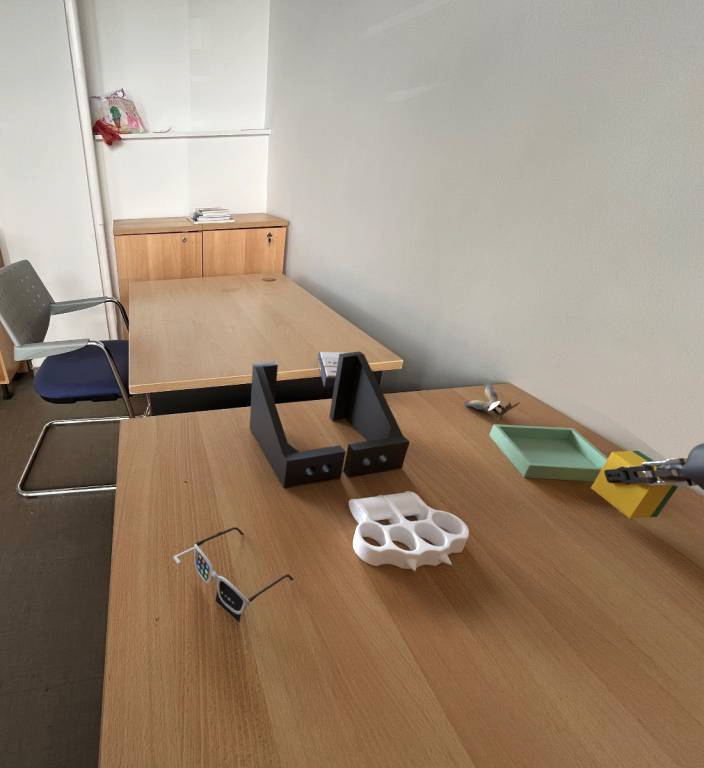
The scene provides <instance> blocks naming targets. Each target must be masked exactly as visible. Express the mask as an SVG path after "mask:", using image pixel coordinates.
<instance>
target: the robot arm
mask: <svg viewBox="0 0 704 768" xmlns="http://www.w3.org/2000/svg"><path fill="white" fill-rule="evenodd" d="M657 465H661V466H658V467H657V468H656V470H654V467H655V466H657ZM604 473H605V476H606V479H607V482H609V483H622V484H630V483H633V484H637V483H648V484H649V485H651V486H656V485H675V486H678V487H695V486H698V487H699V488H700V489H701V490H703V491H704V442H702V443H700V444H698V445H695V446H694V447H693V448H692V449H691V450H690V452H689V453H688V456H687V457H685V458H684V457H678V458H668V459H665V460H663V461H655V462H648V463H642V465H641V466H635V467H631V466H627V467H620V468H617V469H610V470H605V471H604ZM657 477H659V478H660V479H661V480H664V481H666V482H662V481H659V480H658V479H657Z"/></svg>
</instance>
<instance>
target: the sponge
mask: <svg viewBox="0 0 704 768" xmlns="http://www.w3.org/2000/svg"><path fill="white" fill-rule="evenodd" d="M607 458H608V459H607V461H606V463H605V465H604V466H603V468H602V470H601V471H600V473H599V475H598V477H597V478H596V480H595V482H592V485H591V487H590V489H592V491H594V492H595V493H596V494H598V495H599V496H600V497H602V498H603V500H605V501H606V502H608V503H609V504H610V505H611V506H613V507H614V508H615V509H616V510H618V512H620V513H622V514H623V515H624V516H625V517H626V518H628V519H648V518H649V519H650V518H657V517H658V516H659V514H660V513H661V512H662V510H663V509H664V507H665V506H666V505H667V503H668V502H669V500H670V499H671V497H672V496H673V495H674V494H675V492H676V491H677V489H678V488H679V486H675V485H656V486H651V485H649V484H648V483H637V484H633V483H630V484H622V483H609V482H607V479H606V476H605V473H604V471H605V470H610V469H617V468H620V467H627V466H631V467H635V466H641V465H642V463H648V462H656V461H655V460H654V459H652V458H651V457H650V456H647V455H646V454H644V453H642V452H641V451H640V450H624V451H611V452H610V454H609V455H608V457H607ZM658 466H662V465H657V466H655V467H654V470H656V468H657V467H658ZM657 479H658V480H659V481H662V482H666V481H664V480H661V479H660V478H659V477H657Z"/></svg>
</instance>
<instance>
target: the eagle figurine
mask: <svg viewBox="0 0 704 768" xmlns="http://www.w3.org/2000/svg"><path fill="white" fill-rule="evenodd" d="M483 388H484V389H483V390H484V394H485V397H486V399H488V400H487V401H483V400H479V399H475V400H471V401H470V400H468V401H465V402H464V406H466V407H472V408H475V409H476V410H481V411H482V410H484V409H488V410H487V412H489V411H492V412H493V413H494V414H495V415H497V421H500V420H501V419H502V417H504V416H505V415H506V414H507V413H508V412H509V411H511V410H512V409H514V408H515V407H517V406H518V405H519V404H520V403H521V402H520V401H518V402H516V403H514V404H512V403H511V402H510V401H509V402H508V403H507V404H506V405H505V406H503V405H502V404H501V401H500V400H498V399H499V397H498V394H497V392H496V391H495V390H494V388H493V383H492V382H491V381H486V382H485V383H484V384H483ZM497 408H498V409H501V411H500V412H499V411H498V409H497Z"/></svg>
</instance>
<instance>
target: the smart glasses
mask: <svg viewBox="0 0 704 768" xmlns="http://www.w3.org/2000/svg"><path fill="white" fill-rule="evenodd" d="M231 531H237V532H238V533H239V534H240V535H241V536H244V535H245V533H244V532H242V530H241V529H240V528H238V527H236V526H234V527H231V528H228V529H226V530H223V531H219V532H217V533H216V534H214V535H211V536H208V537H206V538H204V539H201V540H199V541H197V542H195V544H194V545H193V547H191V548H188V549H186V550H184V551H182V552H180V553H177V554H176V555H173V556H172V559H173V560H174V561H175V563H176V564H177V565H180V564H181V560H180V559H179V558H181V557H183V556H184V555H186V554H189V553H191V552H193V553H194V554H193V561H194V567H195V570H196V572H197V573H198V575H199V577H200V578H201V579H202V581H203V582H204V583H205V584H210V583H211V582H212V581H213V579H215V581H216V587H217V589H216V593H215V594H216V595H215V600H214V601H215V602H216V603H217V604H218V605H219V606H220V607H221V608H222V609H223V610H224V611H226V612H227V613H228V614H229V616H231V617H232V618H234V620H235V621H236V622H238V623H240V622H241V617H242V614H243V613H244V612H245V610H246V608H247V607H248V606H249V605H250V603H252V602H253V601H254V600H255V599H256V598H257V597H258V596H260V595H261V594H264V592H266V591H268V590H269V589H270V588H272V587H273V586H275V585H277V584H279V582H281V581H282V580H284V579H285V578H286V579H287V578H288V579H289V580H290V581H294V578H293V577H292V575H291V574H289V573H287V574H284V575H282V576H281V577H280V578H278V579H276V580H275V581H273V582H272V583H270V584H268V585H267V586H266V587H264V588H262V589H261V590H259V591H258V592H257V593H255V594H253V595H252V596H250V597H249V598H247V597H246V596H245V595H244V594H243V593H242V592H241V591H240V590H239V589H238V588H237V587H236V586H235V585H234V584H233V583H232V582H231V581H229V580H228V578H226V577H224V576H222V575H219V574H218V573H217V572H216V571H215V568H214V566H213V564H212V562H211V561H210V559H209V558H208V557H207V556H206V554H205V553H204V552H203V550H201V548H200V546H202V545H204V544H205V543H206V542H208V541H211V540H212V539H215V538H218V537H220V536H222V535H225V534H227V533H229V532H231Z"/></svg>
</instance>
